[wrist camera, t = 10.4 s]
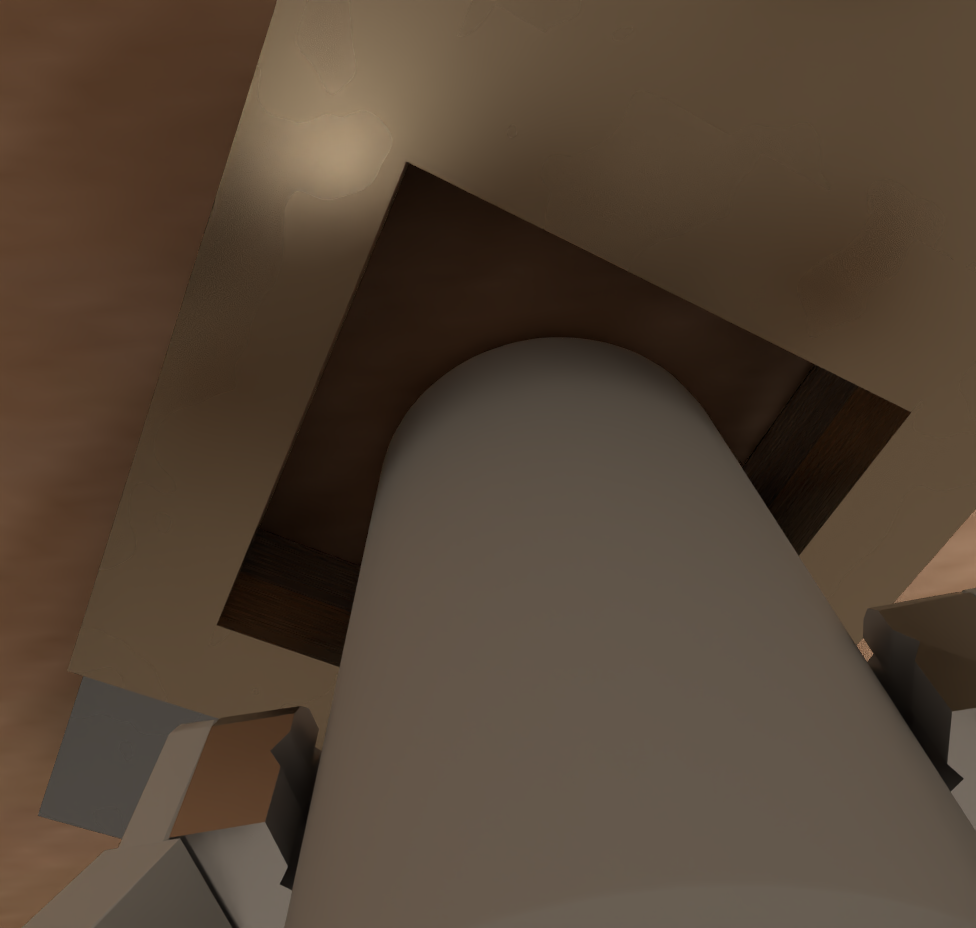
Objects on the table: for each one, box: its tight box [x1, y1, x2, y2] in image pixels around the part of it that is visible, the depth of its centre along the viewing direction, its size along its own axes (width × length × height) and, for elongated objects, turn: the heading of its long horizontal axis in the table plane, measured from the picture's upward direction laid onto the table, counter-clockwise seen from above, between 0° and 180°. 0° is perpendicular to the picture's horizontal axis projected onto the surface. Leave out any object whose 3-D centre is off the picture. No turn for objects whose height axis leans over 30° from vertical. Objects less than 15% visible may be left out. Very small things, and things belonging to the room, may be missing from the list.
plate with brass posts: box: [38, 0, 976, 839], centre depth 12 cm, size 24×12×7 cm, turn 154°
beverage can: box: [284, 337, 976, 928], centre depth 10 cm, size 6×6×12 cm
